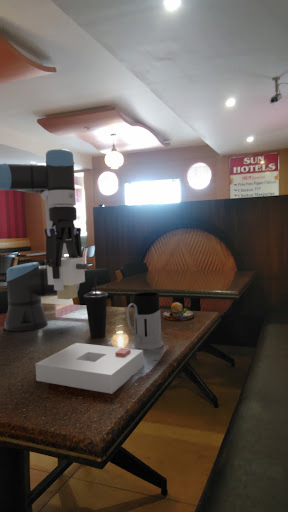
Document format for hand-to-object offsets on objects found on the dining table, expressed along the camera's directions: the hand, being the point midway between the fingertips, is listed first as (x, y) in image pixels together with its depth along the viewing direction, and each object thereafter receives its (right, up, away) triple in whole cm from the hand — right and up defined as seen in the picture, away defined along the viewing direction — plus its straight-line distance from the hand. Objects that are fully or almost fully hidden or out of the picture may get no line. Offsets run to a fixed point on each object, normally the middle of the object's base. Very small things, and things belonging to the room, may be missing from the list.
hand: (66, 287), depth 101 cm
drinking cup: (+7, -17, +15) cm, 24 cm away
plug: (+1, -3, 0) cm, 3 cm away
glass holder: (+22, -17, +1) cm, 28 cm away
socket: (+10, -19, -16) cm, 27 cm away
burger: (+35, -15, +36) cm, 52 cm away
